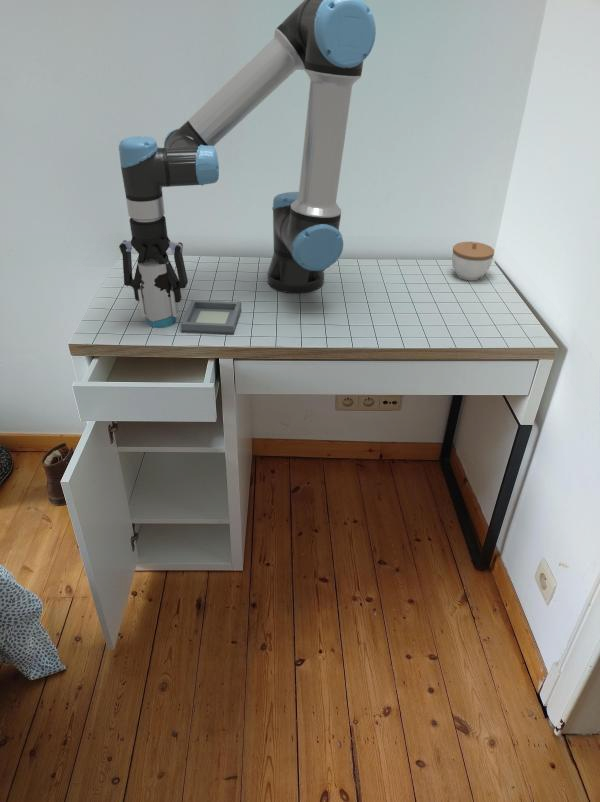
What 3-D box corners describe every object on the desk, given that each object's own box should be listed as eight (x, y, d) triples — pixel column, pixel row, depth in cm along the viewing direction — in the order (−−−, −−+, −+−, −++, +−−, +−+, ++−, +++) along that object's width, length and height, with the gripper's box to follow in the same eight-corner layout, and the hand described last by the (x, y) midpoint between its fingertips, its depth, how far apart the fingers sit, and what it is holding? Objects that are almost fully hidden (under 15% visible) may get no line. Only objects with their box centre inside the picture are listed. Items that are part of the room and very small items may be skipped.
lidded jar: (477, 287, 160) (483, 254, 155) (441, 276, 166) (446, 243, 160) (495, 275, 167) (502, 242, 161) (460, 264, 172) (466, 232, 167)
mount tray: (241, 310, 148) (241, 302, 147) (233, 334, 138) (233, 326, 137) (192, 308, 149) (192, 300, 147) (181, 332, 139) (180, 323, 138)
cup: (181, 319, 144) (175, 259, 135) (161, 330, 139) (152, 269, 131) (161, 311, 147) (153, 252, 138) (140, 322, 143) (131, 262, 134)
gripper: (196, 212, 131) (205, 307, 145) (107, 209, 132) (124, 304, 146) (189, 224, 125) (198, 322, 139) (95, 220, 126) (114, 319, 140)
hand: (160, 313), depth 142 cm, fingers closed on cup, 7 cm apart
